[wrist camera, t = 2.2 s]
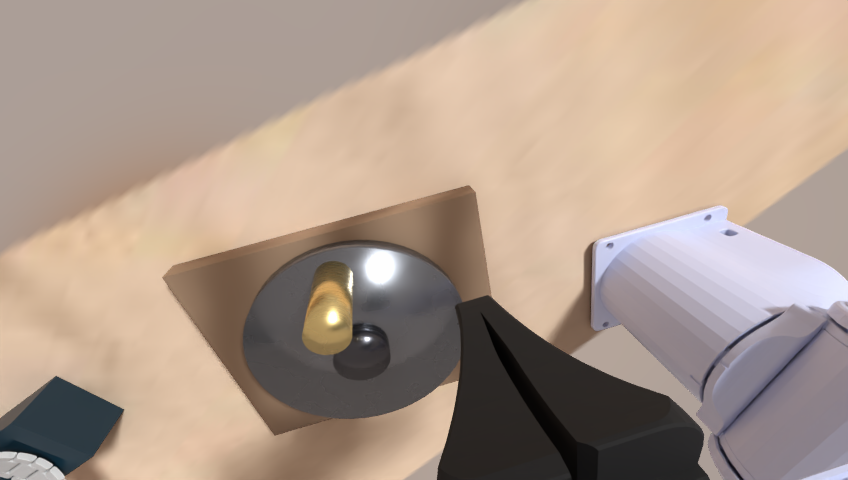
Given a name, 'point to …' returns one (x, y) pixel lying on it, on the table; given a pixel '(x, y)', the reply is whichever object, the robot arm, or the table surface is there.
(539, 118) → the table surface
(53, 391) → the watch
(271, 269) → the base board
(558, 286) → the table surface
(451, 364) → the handwheel
